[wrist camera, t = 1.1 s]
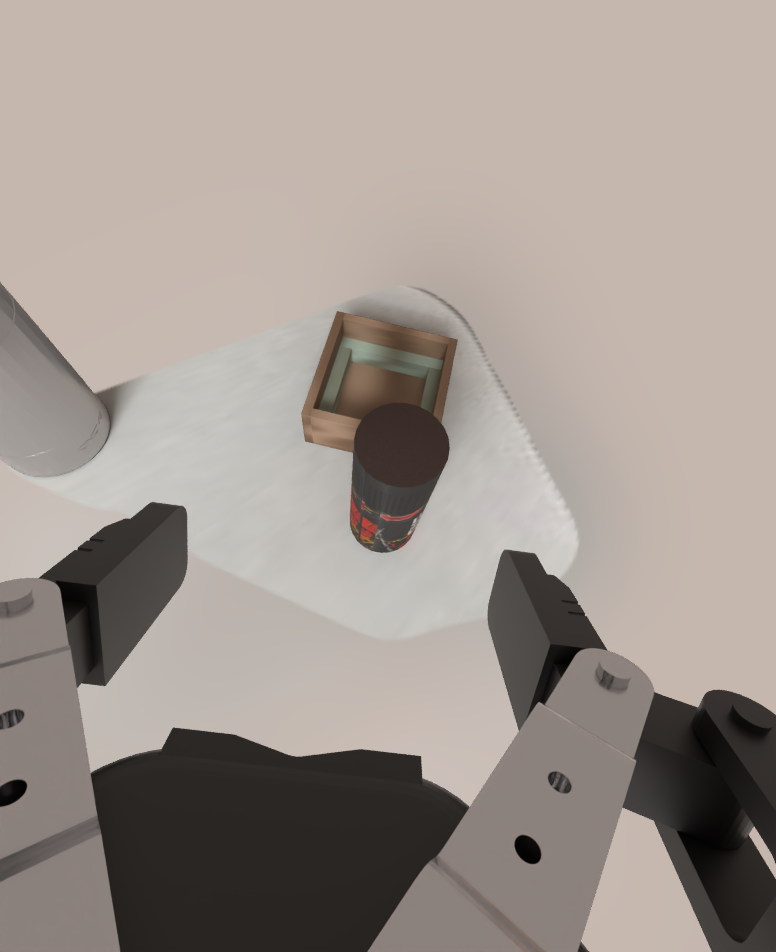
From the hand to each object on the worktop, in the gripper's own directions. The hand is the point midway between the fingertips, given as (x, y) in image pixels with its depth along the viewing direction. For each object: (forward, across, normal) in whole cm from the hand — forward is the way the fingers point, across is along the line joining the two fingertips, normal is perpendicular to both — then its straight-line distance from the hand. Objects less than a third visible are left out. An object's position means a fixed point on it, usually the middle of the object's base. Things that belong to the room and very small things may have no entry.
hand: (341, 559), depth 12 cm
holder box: (+37, 0, +4) cm, 37 cm away
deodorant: (+28, -2, +12) cm, 31 cm away
